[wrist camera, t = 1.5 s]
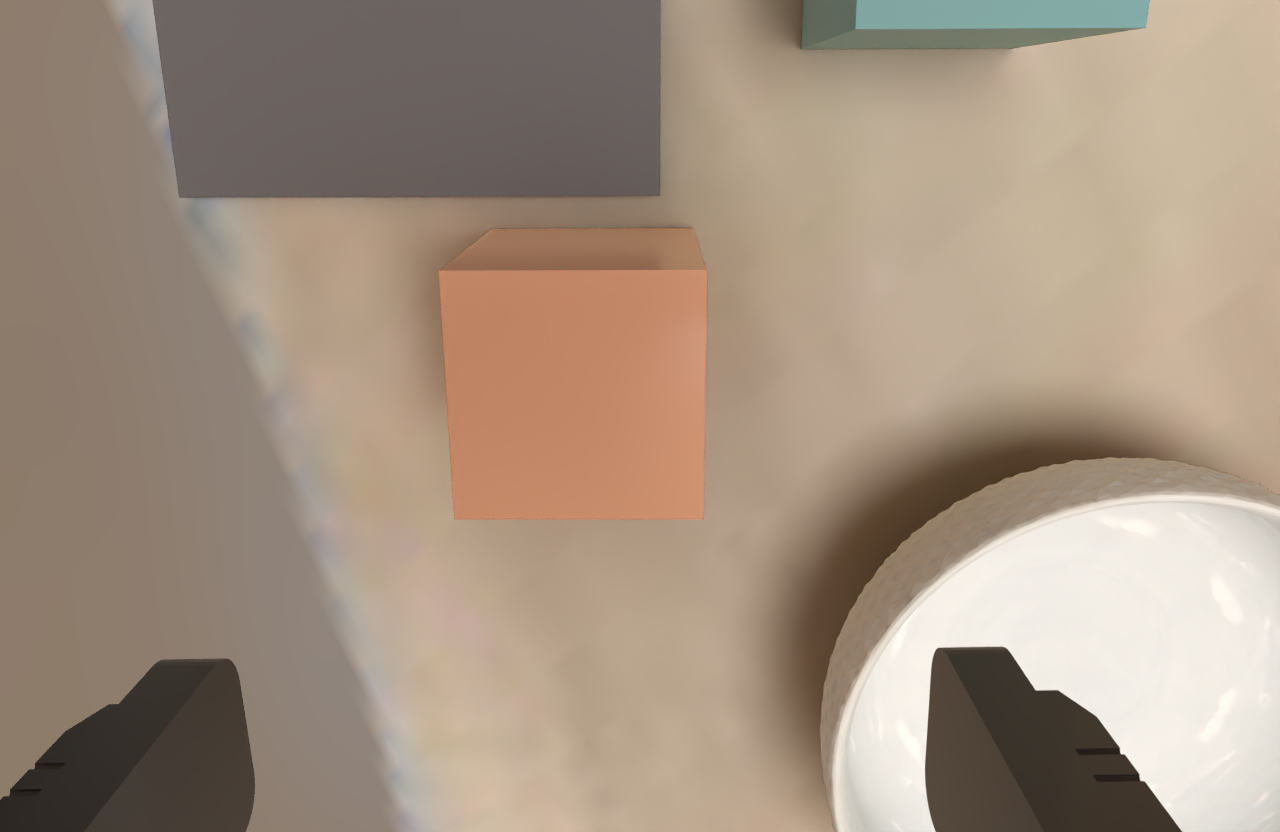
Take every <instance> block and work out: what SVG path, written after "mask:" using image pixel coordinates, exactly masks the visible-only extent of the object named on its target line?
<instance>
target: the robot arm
mask: <svg viewBox="0 0 1280 832" xmlns="http://www.w3.org/2000/svg"><path fill="white" fill-rule="evenodd" d="M925 785H926V794H927V801H928V807H929V812H930V816H931V819H932V823H933V826H934V828H935V831H936V832H1182V831H1181V829H1180V828H1179V827H1178V825H1177V824H1176V823H1175V821H1174V820H1173V819H1172V817H1171V816H1170V815H1169V813H1168V812H1167V811H1166V809H1165V808H1164V807H1163V805H1162V804H1161V803H1160V801H1159V800H1158V798H1157V797H1156V796H1155V794H1154V793H1153V792H1152V790H1151V789H1150V788H1149V786H1148V785H1147V784H1146V782H1145V781H1140V774H1139V773H1138V772H1137V770H1136V769H1135V767H1134V766H1133V765H1132V763H1131V762H1130V761H1129V759H1128V758H1127V757H1126V755H1125V754H1121V753H1120V747H1119V746H1118V745H1117V743H1116V742H1115V741H1114V739H1113V738H1112V736H1111V735H1110V734H1109V732H1108V731H1107V730H1106V728H1105V727H1104V726H1103V724H1102V723H1101V722H1100V720H1099V719H1098V718H1097V716H1095V715H1094V714H1092V713H1091V712H1089V711H1088V710H1086V709H1085V708H1083V707H1082V706H1080V705H1079V704H1078V703H1076V702H1075V701H1073V700H1072V699H1070V698H1069V697H1067V696H1066V695H1064V694H1063V693H1061V692H1060V691H1058V690H1037V691H1036V690H1035V689H1034V687H1033V686H1032V684H1031V683H1030V681H1029V680H1028V678H1027V677H1026V675H1025V674H1024V672H1023V671H1022V669H1021V668H1020V666H1019V665H1018V663H1017V662H1016V660H1015V659H1014V657H1013V656H1012V654H1011V653H1010V651H1009V650H1008V649H1007V648H1005V647H1002V646H1000V647H944V648H937V649H936V651H935V653H934V655H933V659H932V666H931V679H930V695H929V710H928V726H927V742H926V757H925ZM254 794H255V778H254V769H253V763H252V756H251V750H250V743H249V737H248V731H247V724H246V718H245V711H244V705H243V699H242V692H241V686H240V680H239V675H238V672H237V669H236V667H235V665H234V664H233V662H232V661H230V660H229V659H181V660H180V659H176V660H174V659H173V660H161V661H159V662H157V663H156V664H155V665H154V666H153V667H152V668H151V669H150V670H149V671H148V672H147V673H146V674H145V676H144V677H143V678H142V679H141V680H140V681H139V682H138V683H137V684H136V686H135V687H134V688H133V689H132V690H131V691H130V692H129V693H128V694H127V695H126V697H125V698H124V699H123V700H122V701H121V702H120V703H119V704H112V705H111V704H109V705H107V706H106V707H104V708H103V709H101V710H99V711H98V712H96V713H94V714H93V715H91V716H90V717H88V718H86V719H85V720H83V721H82V722H80V723H78V724H77V725H75V726H73V727H72V728H70V729H69V730H67V731H65V733H64V734H63V735H62V736H61V737H60V738H59V739H58V740H57V741H56V742H55V743H54V744H53V745H52V746H51V747H50V748H49V749H48V750H47V751H46V752H45V754H43V755H42V757H41V758H40V759H39V760H38V761H37V762H36V763H35V769H34V770H28V771H27V773H25V775H24V776H23V777H22V778H21V779H20V780H19V781H18V782H17V783H16V784H15V785H14V786H13V787H12V788H11V789H10V795H9V796H4V797H3V798H2V799H1V800H0V832H245V831H246V829H247V827H248V824H249V821H250V817H251V813H252V808H253V802H254Z"/></svg>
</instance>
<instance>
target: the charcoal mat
mask: <svg viewBox="0 0 1280 832" xmlns="http://www.w3.org/2000/svg"><path fill="white" fill-rule="evenodd" d="M153 7H154V14H155V22H156V29H157V36H158V44H159V51H160V59H161V66H162V73H163V81H164V88H165V95H166V103H167V110H168V118H169V125H170V132H171V140H172V147H173V154H174V162H175V169H176V177H177V184H178V191H179V197H447V196H660V0H153Z"/></svg>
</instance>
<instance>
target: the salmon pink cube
mask: <svg viewBox="0 0 1280 832" xmlns="http://www.w3.org/2000/svg"><path fill="white" fill-rule="evenodd" d="M439 286H440V302H441V318H442V333H443V349H444V365H445V381H446V397H447V413H448V428H449V444H450V460H451V476H452V492H453V508H454V519H704V458H705V391H706V325H707V267H706V264H705V261H704V259H703V256H702V253H701V250H700V247H699V244H698V241H697V238H696V235H695V232H694V229H693V228H555V229H491V230H490V231H489V232H488V233H486V234H485V235H484V236H482V237H481V238H480V239H479V240H477V241H476V242H475V243H473V244H472V245H471V246H470V247H468V248H467V249H466V250H464V251H463V252H462V253H461V254H459V255H458V256H457V257H455V258H454V259H453V260H452V261H450V262H449V263H448V264H446V265H445V266H444V267H443V268H441V269H440V270H439Z"/></svg>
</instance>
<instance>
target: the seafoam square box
mask: <svg viewBox="0 0 1280 832" xmlns="http://www.w3.org/2000/svg"><path fill="white" fill-rule="evenodd" d="M1148 8H1149V0H803V15H802V40H801V49H968V48H1019V47H1025V46H1031V45H1038V44H1044V43H1051V42H1057V41H1063V40H1070V39H1076V38H1083V37H1089V36H1095V35H1102V34H1108V33H1115V32H1121V31H1128V30H1134V29H1140V28H1146V23H1147V15H1148Z"/></svg>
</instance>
